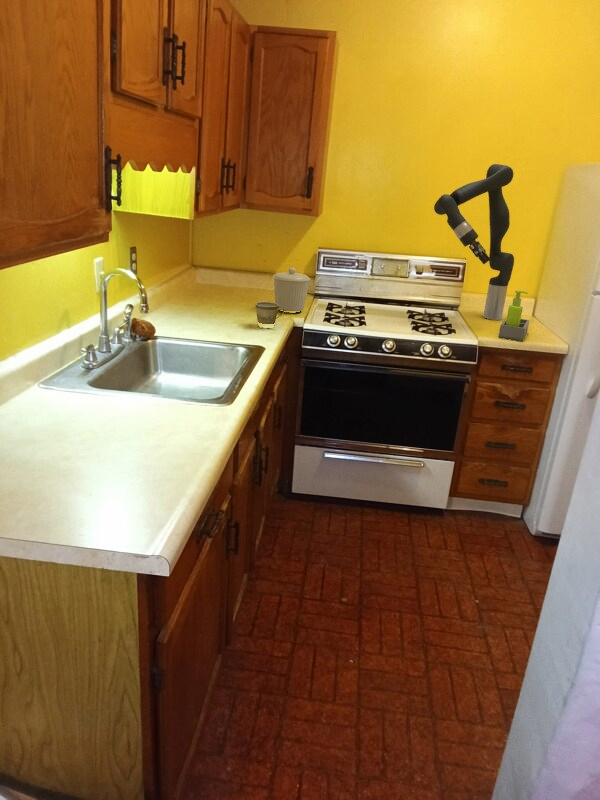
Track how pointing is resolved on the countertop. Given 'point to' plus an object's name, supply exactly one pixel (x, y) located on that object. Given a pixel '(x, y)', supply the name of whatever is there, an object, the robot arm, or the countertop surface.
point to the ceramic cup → (267, 312)
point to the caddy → (514, 330)
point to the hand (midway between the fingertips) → (487, 262)
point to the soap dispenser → (515, 311)
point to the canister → (291, 290)
